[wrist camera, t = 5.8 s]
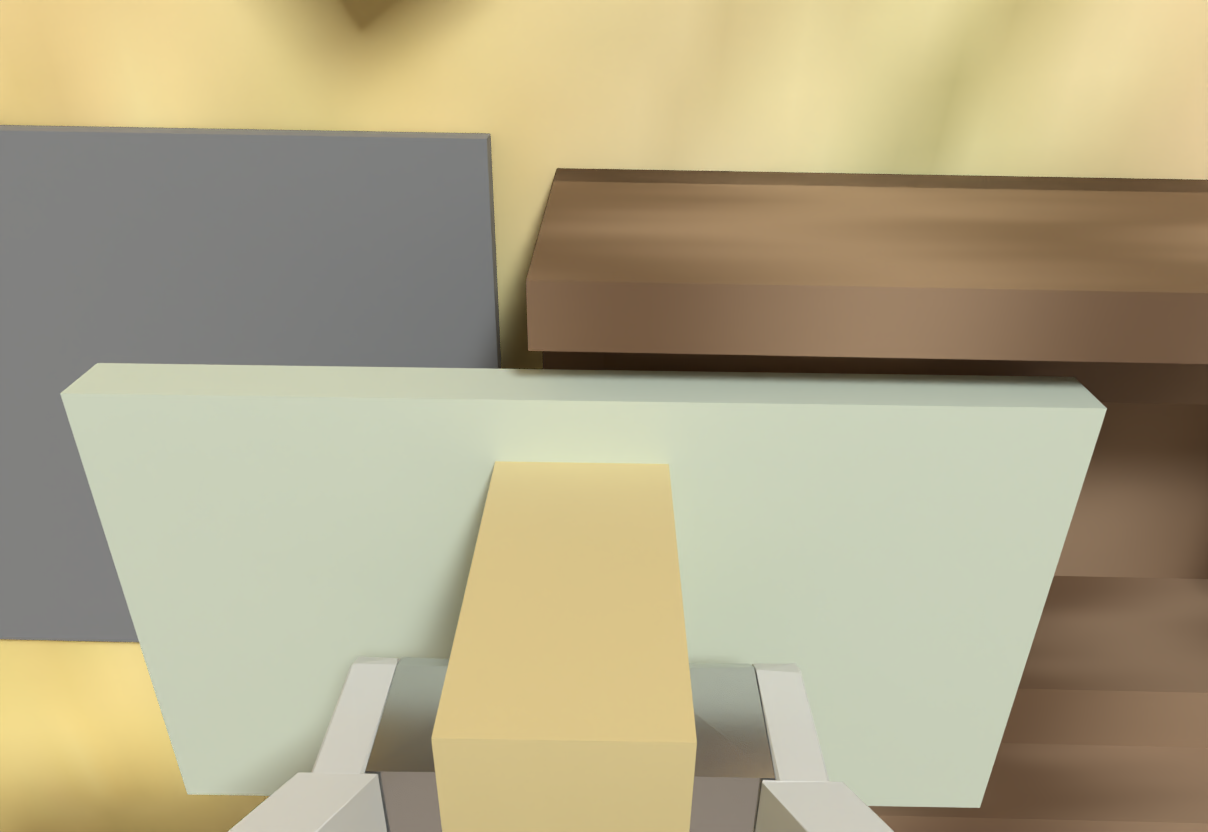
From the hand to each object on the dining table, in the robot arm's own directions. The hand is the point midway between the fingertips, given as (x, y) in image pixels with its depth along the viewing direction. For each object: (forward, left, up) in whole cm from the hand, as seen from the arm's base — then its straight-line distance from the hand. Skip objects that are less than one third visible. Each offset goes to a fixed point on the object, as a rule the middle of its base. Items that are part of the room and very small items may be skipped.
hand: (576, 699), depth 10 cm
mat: (+8, 0, -6) cm, 10 cm away
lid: (0, 0, -2) cm, 2 cm away
